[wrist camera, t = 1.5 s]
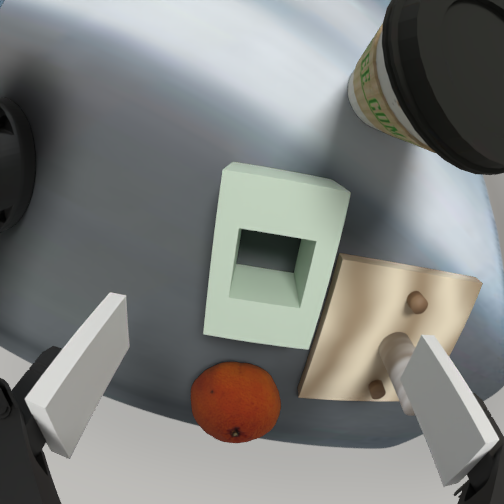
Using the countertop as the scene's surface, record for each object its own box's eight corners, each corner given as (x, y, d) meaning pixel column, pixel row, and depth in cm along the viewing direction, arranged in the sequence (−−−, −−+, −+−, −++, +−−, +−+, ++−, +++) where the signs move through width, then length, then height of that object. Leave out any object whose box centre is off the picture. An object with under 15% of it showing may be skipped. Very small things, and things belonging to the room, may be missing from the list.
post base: (297, 388, 32) (303, 457, 23) (339, 252, 27) (370, 309, 18) (419, 392, 33) (444, 448, 24) (475, 277, 27) (527, 324, 18)
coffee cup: (300, 69, 22) (345, -10, 8) (394, 24, 19) (496, -45, 5) (365, 173, 24) (470, 224, 10) (451, 123, 22) (580, 134, 8)
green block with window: (301, 309, 29) (308, 349, 23) (214, 296, 29) (203, 334, 23) (332, 179, 25) (351, 192, 19) (232, 161, 24) (222, 169, 19)
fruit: (267, 338, 30) (267, 397, 23) (286, 397, 33) (289, 454, 26) (183, 353, 31) (164, 408, 24) (212, 408, 34) (202, 462, 27)
